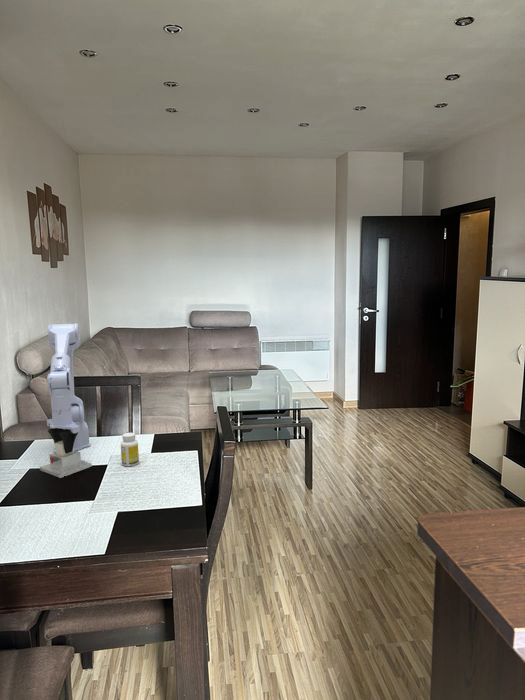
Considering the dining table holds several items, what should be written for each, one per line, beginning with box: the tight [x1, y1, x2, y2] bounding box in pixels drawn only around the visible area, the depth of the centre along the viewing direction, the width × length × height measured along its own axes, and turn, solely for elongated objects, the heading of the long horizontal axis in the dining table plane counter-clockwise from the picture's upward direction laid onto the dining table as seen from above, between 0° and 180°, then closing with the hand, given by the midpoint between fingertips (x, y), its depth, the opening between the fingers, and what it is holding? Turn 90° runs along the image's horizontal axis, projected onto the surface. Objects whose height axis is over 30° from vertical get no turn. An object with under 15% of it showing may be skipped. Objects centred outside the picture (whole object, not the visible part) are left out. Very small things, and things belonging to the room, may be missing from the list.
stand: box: [39, 450, 92, 479], centre depth 156 cm, size 11×11×5 cm
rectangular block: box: [54, 441, 74, 457], centre depth 155 cm, size 4×4×8 cm
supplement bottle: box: [120, 432, 140, 467], centre depth 159 cm, size 5×5×10 cm
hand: (64, 451), depth 155 cm, fingers closed on rectangular block, 4 cm apart
